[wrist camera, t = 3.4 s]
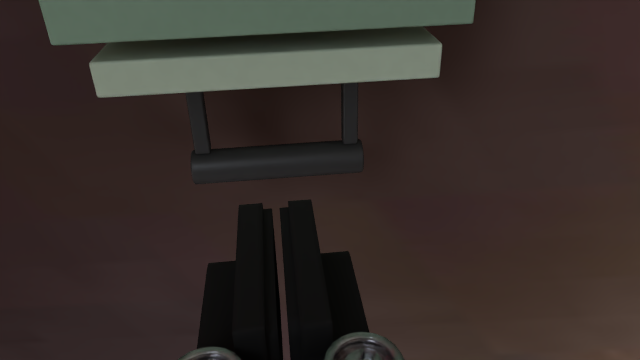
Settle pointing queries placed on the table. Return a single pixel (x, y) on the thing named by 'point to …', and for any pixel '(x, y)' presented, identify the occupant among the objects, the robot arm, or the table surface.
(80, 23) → the cabinet
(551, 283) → the table surface
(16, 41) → the table surface
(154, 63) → the drawer
